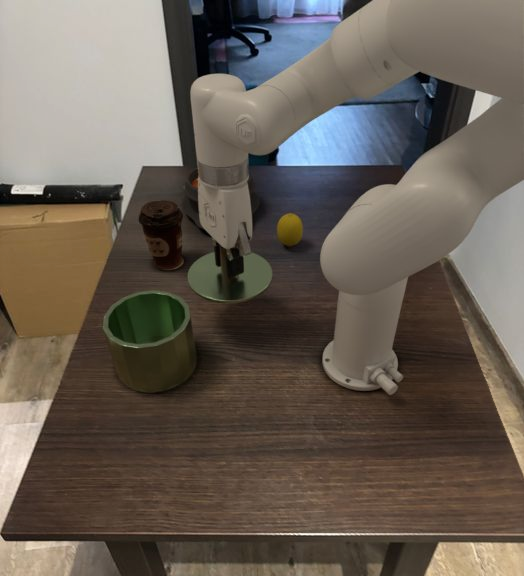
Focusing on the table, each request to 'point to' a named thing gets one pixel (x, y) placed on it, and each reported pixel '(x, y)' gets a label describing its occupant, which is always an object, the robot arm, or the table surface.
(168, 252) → the coffee cup
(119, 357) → the tin
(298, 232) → the lemon
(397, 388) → the robot arm
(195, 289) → the tin lid
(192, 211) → the casserole
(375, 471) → the table surface
